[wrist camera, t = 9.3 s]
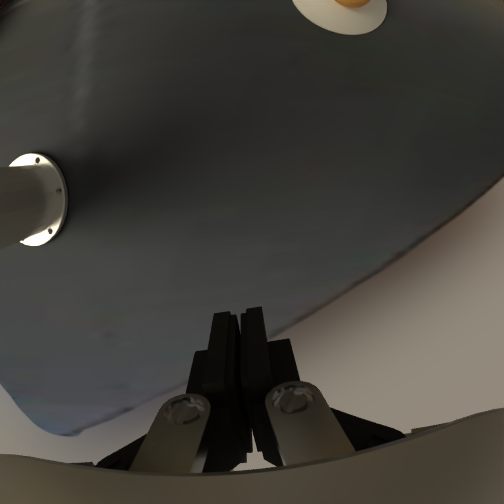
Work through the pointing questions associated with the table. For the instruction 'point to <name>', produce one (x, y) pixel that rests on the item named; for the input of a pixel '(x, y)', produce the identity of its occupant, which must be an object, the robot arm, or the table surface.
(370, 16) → the disc
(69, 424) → the table surface
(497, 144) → the table surface
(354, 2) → the ball
